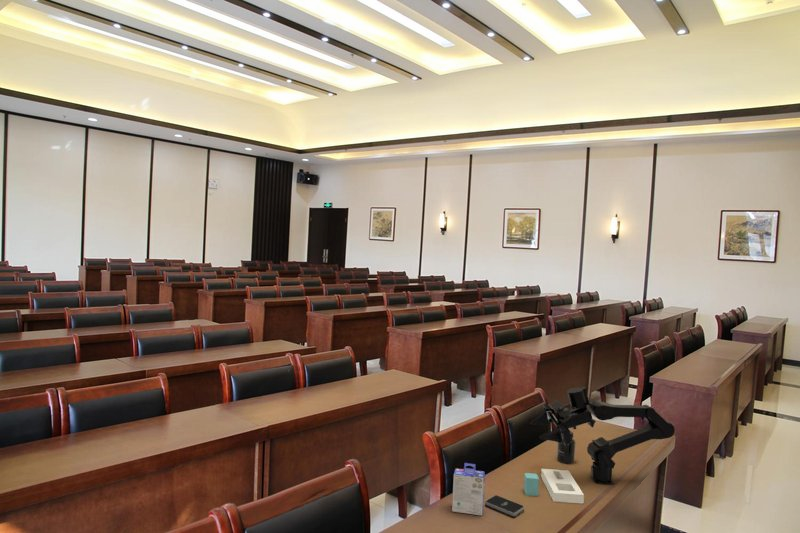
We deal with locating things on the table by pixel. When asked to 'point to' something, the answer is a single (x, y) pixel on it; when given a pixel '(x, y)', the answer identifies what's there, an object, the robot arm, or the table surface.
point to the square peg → (531, 484)
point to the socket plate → (562, 486)
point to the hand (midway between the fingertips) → (535, 430)
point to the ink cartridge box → (468, 490)
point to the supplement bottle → (566, 452)
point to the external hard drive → (504, 506)
